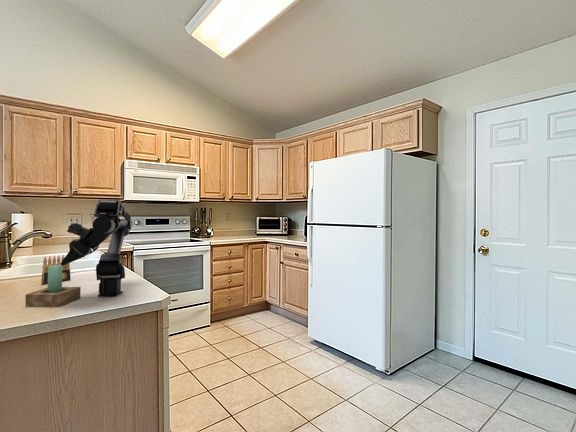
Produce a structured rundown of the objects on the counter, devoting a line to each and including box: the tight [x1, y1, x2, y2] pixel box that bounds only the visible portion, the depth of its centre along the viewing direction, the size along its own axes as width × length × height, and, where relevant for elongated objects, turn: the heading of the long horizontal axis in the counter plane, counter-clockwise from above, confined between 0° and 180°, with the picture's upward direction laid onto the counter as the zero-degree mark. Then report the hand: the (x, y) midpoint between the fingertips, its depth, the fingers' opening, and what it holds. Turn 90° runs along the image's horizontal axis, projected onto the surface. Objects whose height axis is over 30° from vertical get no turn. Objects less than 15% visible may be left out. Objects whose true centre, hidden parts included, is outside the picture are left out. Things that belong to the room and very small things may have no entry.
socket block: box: [25, 286, 81, 308], centre depth 109 cm, size 11×11×4 cm
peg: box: [47, 264, 63, 293], centre depth 109 cm, size 4×4×12 cm
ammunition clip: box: [40, 254, 71, 286], centre depth 139 cm, size 11×2×12 cm, turn 152°
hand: (65, 262), depth 110 cm, fingers open, 9 cm apart
